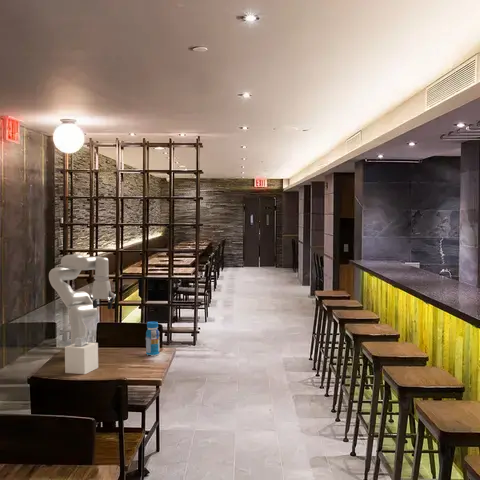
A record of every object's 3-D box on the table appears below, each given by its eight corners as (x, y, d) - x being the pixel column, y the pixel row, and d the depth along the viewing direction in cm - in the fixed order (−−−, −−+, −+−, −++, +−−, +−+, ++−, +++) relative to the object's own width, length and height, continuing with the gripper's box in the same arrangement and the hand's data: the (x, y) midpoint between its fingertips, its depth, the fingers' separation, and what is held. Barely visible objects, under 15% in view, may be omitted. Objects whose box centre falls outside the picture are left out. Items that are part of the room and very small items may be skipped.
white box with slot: (65, 372, 318) (64, 347, 317) (79, 366, 331) (79, 341, 331) (84, 374, 314) (84, 348, 314) (98, 367, 328) (97, 343, 327)
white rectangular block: (75, 356, 320) (74, 338, 320) (80, 354, 326) (80, 336, 326) (81, 357, 319) (81, 339, 319) (87, 354, 325) (87, 336, 324)
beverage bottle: (143, 355, 356) (142, 323, 355) (150, 352, 364) (149, 320, 363) (155, 356, 353) (155, 323, 352) (162, 353, 361) (161, 321, 360)
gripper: (85, 279, 335) (85, 308, 336) (111, 280, 329) (111, 310, 330) (92, 277, 342) (93, 306, 343) (118, 278, 336) (118, 308, 337)
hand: (102, 308), depth 336 cm, fingers open, 9 cm apart
